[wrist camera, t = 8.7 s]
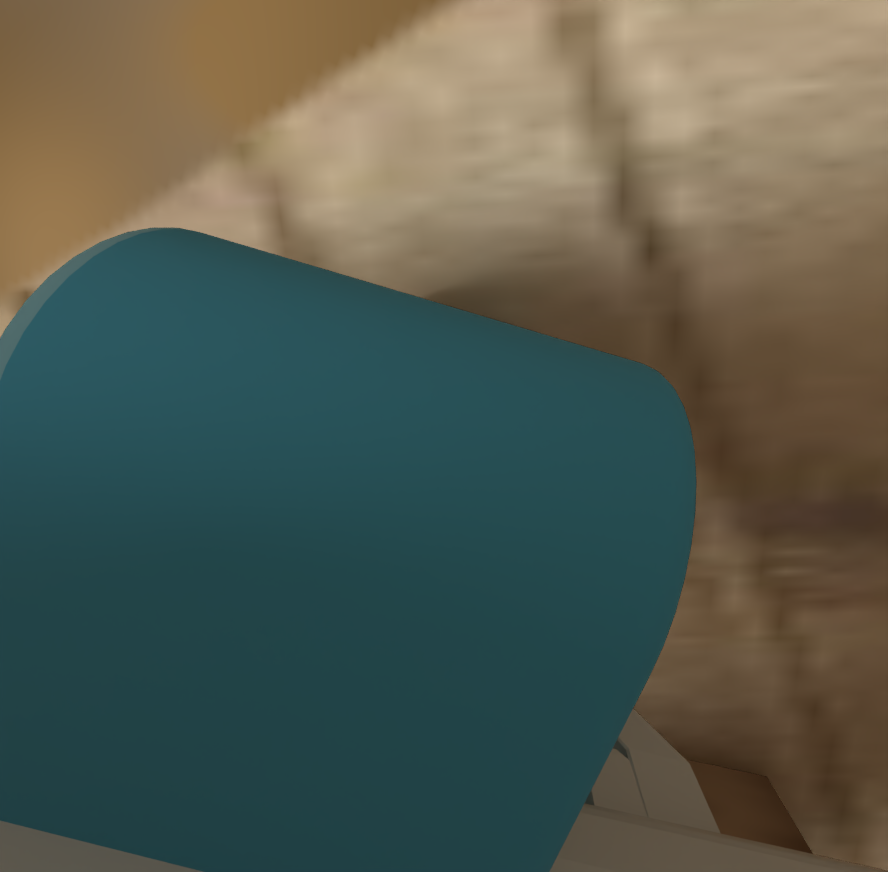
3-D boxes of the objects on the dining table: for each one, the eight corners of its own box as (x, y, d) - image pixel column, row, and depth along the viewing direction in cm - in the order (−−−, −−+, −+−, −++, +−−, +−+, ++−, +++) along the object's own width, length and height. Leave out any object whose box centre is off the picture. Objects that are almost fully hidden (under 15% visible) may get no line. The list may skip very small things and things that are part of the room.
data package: (438, 647, 17) (311, 1361, 5) (326, 610, 17) (-36, 1223, 5) (544, 337, 14) (815, 412, 2) (404, 296, 14) (-73, 148, 2)
